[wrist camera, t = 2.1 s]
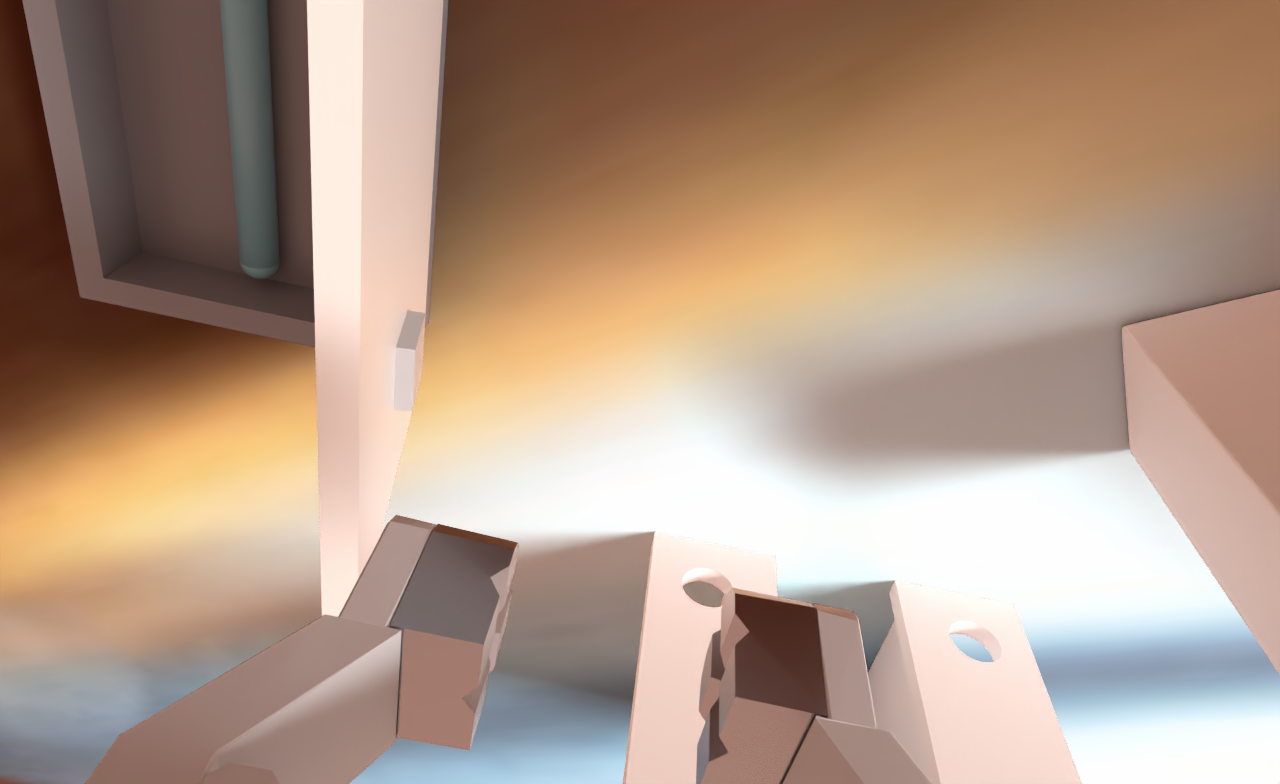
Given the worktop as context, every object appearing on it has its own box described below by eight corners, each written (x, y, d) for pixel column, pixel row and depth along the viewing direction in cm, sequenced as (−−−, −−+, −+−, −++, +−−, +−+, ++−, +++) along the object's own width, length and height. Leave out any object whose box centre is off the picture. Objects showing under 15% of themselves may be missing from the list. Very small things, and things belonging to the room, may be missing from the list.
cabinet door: (288, -755, 11) (418, -712, 11) (430, -455, 22) (491, -438, 22) (321, 625, 25) (378, 628, 25) (398, 368, 36) (436, 373, 36)
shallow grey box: (19, -517, 26) (-90, -575, 22) (473, -411, 26) (433, -452, 22) (135, 260, 40) (79, 297, 36) (428, 322, 40) (400, 365, 36)
